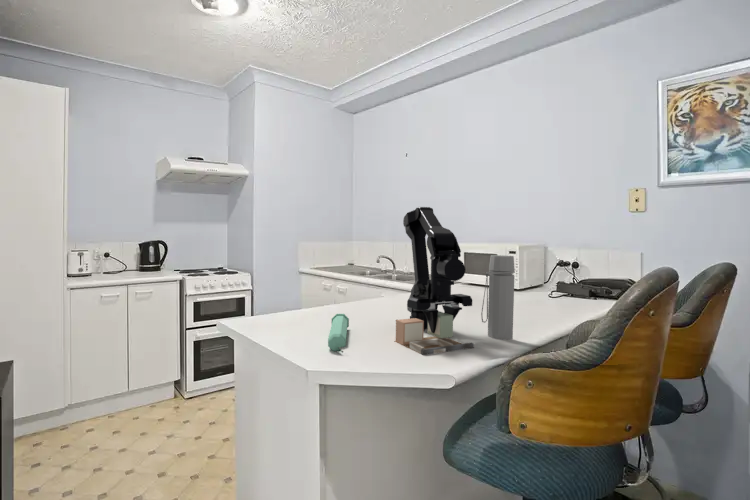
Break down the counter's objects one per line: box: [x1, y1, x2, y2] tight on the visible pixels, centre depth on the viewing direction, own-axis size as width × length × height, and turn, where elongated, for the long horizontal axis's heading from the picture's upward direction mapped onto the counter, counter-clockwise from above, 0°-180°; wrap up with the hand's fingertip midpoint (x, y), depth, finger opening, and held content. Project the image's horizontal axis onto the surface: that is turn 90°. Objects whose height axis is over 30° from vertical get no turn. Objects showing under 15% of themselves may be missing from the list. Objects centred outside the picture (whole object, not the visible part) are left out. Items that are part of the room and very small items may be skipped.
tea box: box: [426, 310, 454, 338], centre depth 119 cm, size 4×6×6 cm, turn 27°
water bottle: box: [480, 254, 516, 341], centre depth 124 cm, size 9×8×25 cm
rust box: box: [395, 318, 425, 346], centre depth 116 cm, size 4×6×6 cm, turn 117°
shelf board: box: [393, 335, 475, 356], centre depth 114 cm, size 16×15×3 cm
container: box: [327, 313, 350, 352], centre depth 122 cm, size 6×6×25 cm
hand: (439, 332), depth 119 cm, fingers closed on tea box, 4 cm apart
